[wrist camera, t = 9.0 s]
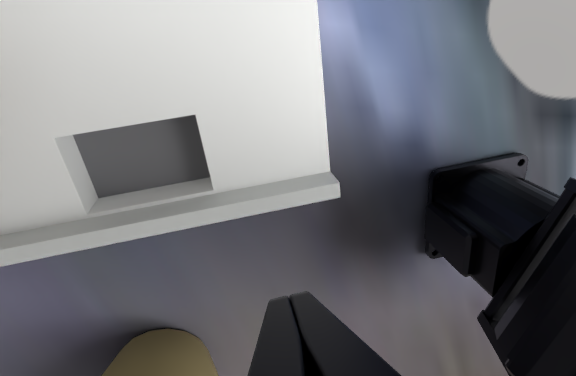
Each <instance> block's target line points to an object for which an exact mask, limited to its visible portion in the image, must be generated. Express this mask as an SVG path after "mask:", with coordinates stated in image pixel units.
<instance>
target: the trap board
mask: <svg viewBox="0 0 576 376" xmlns="http://www.w3.org/2000/svg"><path fill="white" fill-rule="evenodd" d="M340 197H341V196H340V183H339V181H338V180H337V179H336V178H335V176H334V175H333V174H332V173H331V172H330V161H329V149H328V136H327V123H326V110H325V97H324V84H323V71H322V59H321V46H320V33H319V20H318V7H317V0H0V267H2V266H7V265H11V264H16V263H21V262H26V261H31V260H36V259H41V258H46V257H51V256H56V255H60V254H65V253H70V252H75V251H80V250H85V249H90V248H95V247H100V246H105V245H110V244H114V243H119V242H124V241H129V240H134V239H139V238H144V237H149V236H154V235H159V234H163V233H168V232H173V231H178V230H183V229H188V228H193V227H198V226H203V225H208V224H212V223H217V222H222V221H227V220H232V219H237V218H242V217H247V216H252V215H257V214H261V213H266V212H271V211H276V210H281V209H286V208H291V207H296V206H301V205H306V204H311V203H315V202H320V201H325V200H330V199H335V198H340Z"/></svg>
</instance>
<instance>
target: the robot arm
mask: <svg viewBox="0 0 576 376" xmlns="http://www.w3.org/2000/svg"><path fill="white" fill-rule="evenodd" d="M519 160H520V161H519ZM518 161H519V162H518ZM527 165H528V157H527V156H526V155H523V154H521V153H516V154H511V155H506V156H501V157H496V158H491V159H486V160H481V161H476V162H471V163H466V164H461V165H456V166H451V167H446V168H441V169H437V170H434V171H433V172H432V173H431V175H430V177H429V193H428V204H427V207H426V221H425V239H426V246H425V252H426V254H427V255H428V256H429V257H430V258H432V259H435V258H440V257H444V258H445V259H446V260H447V261H448V262H449V263H450V264H451V265H452V266H453V267H454V268H455V269H456V270H457V271H458V272H459V273H460V274H462V275H463V276H465V277H468V276H471V277H472V278H473V279H474V280H475V281H476V282H477V283H478V284H479V285H480V286H481V287H482V288H483V289H484V290H485V291H487V292H488V293H489V294H490V295H491V296H492V297H493V298H492V300H491V301H490V303H489V304H488V306H487V307H486V309H485V310H482V311H481V313H480V314H479V316H478V317H477V319H478V321H479V323H480V325H481V327H482V328H483V330H484V332H485V334H486V335H487V337H488V339H489V341H490V343H491V344H492V346H493V348H494V350H495V351H496V353H497V355H498V357H499V359H500V360H501V362H502V364H503V366H504V367H505V369H506V371H507V373H508V375H509V376H576V179H574V178H571V177H570V178H569V180H568V181H567V183H566V184H565V186H564V188H565V190H564V191H563V193H562V194H561V196H559V195H557V194H554V193H552V192H550V191H548V190H546V189H544V188H542V187H540V186H538V185H536V184H534V183H532V182H529V181H527V180H525V176H526V171H527ZM440 175H441V176H440ZM439 176H440V178H439V180H437V178H438V177H439ZM434 250H435V251H434ZM433 251H434V252H433ZM248 376H401V375H400V374H399V373H398V372H397V371H396V370H394V369H393V368H392V367H391V366H390V365H389V364H388V363H387V362H386V361H385V360H383V359H382V358H381V357H380V356H379V355H378V354H377V353H376V352H375V351H373V350H372V349H371V348H370V347H369V346H368V345H367V344H366V343H365V342H363V341H362V340H361V339H360V338H359V337H358V336H357V335H356V334H355V333H354V332H352V331H351V330H350V329H349V328H348V327H347V326H346V325H345V324H344V323H342V322H341V321H340V320H339V319H338V318H337V317H336V316H335V315H334V314H332V313H331V312H330V311H329V310H328V309H327V308H326V307H325V306H324V305H322V304H321V303H320V302H319V301H318V300H317V299H316V298H315V297H314V296H313V295H311V294H310V293H309V292H307V291H305V292H300V293H296V294H292V295H290V297H289V298H288V297H287V296H283V297H279V298H275V299H271V300H270V301H269V303H268V306H267V309H266V313H265V316H264V320H263V323H262V327H261V330H260V334H259V337H258V341H257V344H256V348H255V352H254V355H253V359H252V362H251V366H250V369H249V373H248Z"/></svg>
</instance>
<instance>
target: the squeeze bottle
mask: <svg viewBox="0 0 576 376" xmlns="http://www.w3.org/2000/svg"><path fill="white" fill-rule="evenodd" d="M102 376H218V373H217V371H216V368H215V366H214V363H213V361H212V359H211V356H210V354H209V351H208V349H207V348H206V347H205V345H204V344H203V343H202V341H201V340H200V339H199V338H197V337H195V336H193V335H192V334H190V333H188V332H186V331H180V330H174V329H161V330H153V331H148V332H146V333H144V334H142V335H139V336H137V337H135V338H133V339H132V340H131V341H130V342H129V343H128V344H127V345H125V346H124V347H123V348H122V349H121V351H120V352H119V353H118V355H117V356H116V357H115V359H114V360H113V361H112V363H111V364H110V365H109V366H108V368H107V369H106V370H105V372H104V373H103V374H102Z"/></svg>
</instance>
